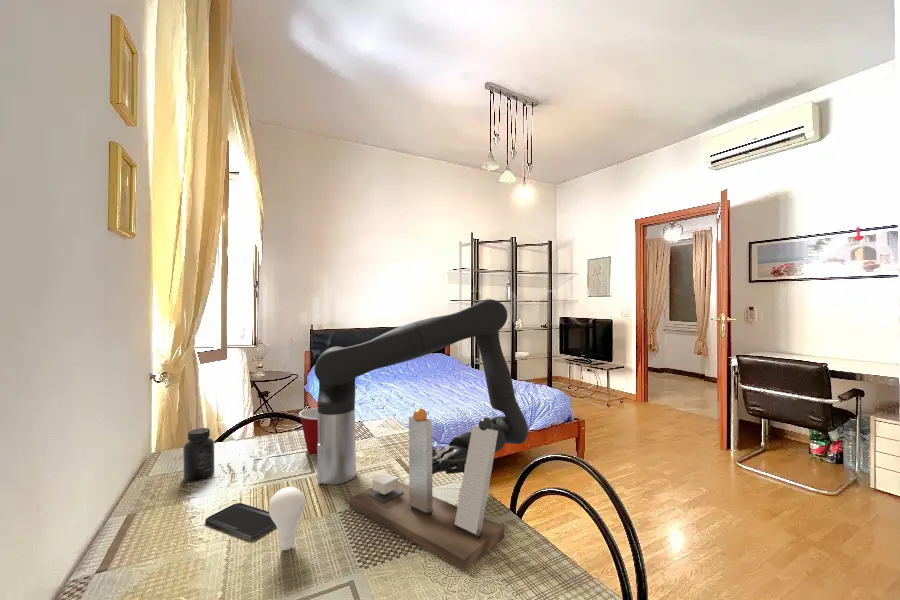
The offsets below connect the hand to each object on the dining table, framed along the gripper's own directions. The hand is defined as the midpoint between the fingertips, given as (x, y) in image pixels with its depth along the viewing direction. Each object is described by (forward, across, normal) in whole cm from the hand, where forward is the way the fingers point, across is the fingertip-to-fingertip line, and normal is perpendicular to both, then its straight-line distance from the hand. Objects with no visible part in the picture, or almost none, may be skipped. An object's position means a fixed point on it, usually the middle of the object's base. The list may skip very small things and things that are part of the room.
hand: (423, 471), depth 80 cm
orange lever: (+1, 0, +7) cm, 7 cm away
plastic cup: (-7, -51, +10) cm, 52 cm away
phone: (+23, -28, +10) cm, 38 cm away
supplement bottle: (+21, -60, +10) cm, 65 cm away
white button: (+1, -11, +7) cm, 13 cm away
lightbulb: (+22, -13, +10) cm, 28 cm away
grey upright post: (+1, +12, +7) cm, 14 cm away
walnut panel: (+1, 0, +10) cm, 10 cm away
